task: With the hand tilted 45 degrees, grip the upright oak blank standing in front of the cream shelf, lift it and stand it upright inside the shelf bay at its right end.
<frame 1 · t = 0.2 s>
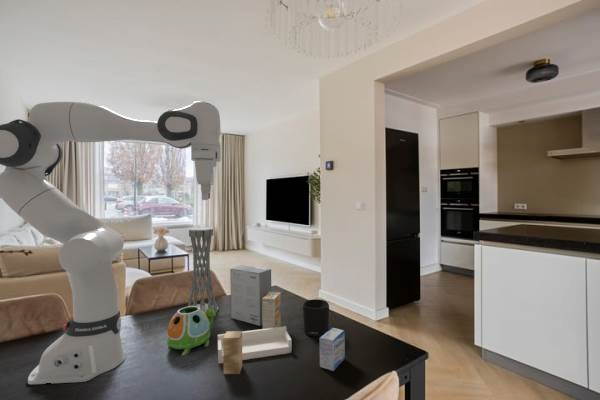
hand: (206, 199, 98), 48 cm above the table, tool pointing down, fingers open, 8 cm apart
vase: (202, 311, 130), on the table
hard drive box: (251, 319, 122), on the table
pen holder: (316, 332, 110), on the table
turtle holder: (192, 344, 102), on the table
cream shelf: (254, 351, 96), on the table
supplement box: (272, 331, 111), on the table
medicine box: (332, 363, 90), on the table
oak blank: (233, 369, 86), on the table
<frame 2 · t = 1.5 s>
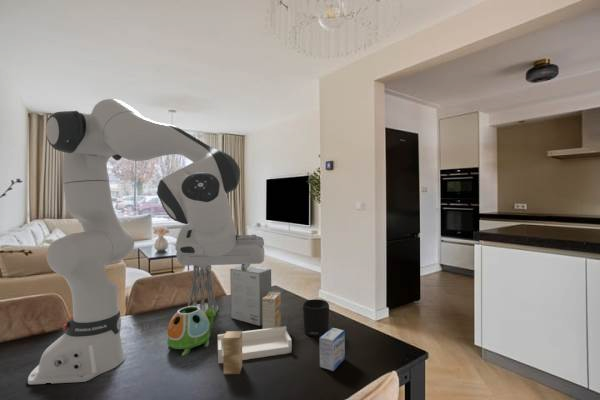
hand: (226, 269, 79), 30 cm above the table, tool tilted 45°, fingers open, 8 cm apart
nothing on the table moved.
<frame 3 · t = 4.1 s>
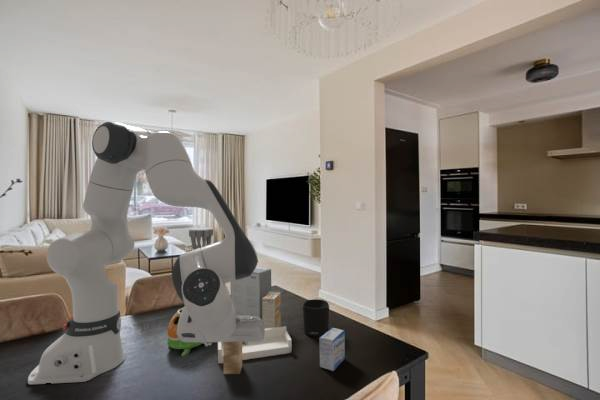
hand: (227, 341, 80), 11 cm above the table, tool tilted 45°, fingers open, 8 cm apart
nothing on the table moved.
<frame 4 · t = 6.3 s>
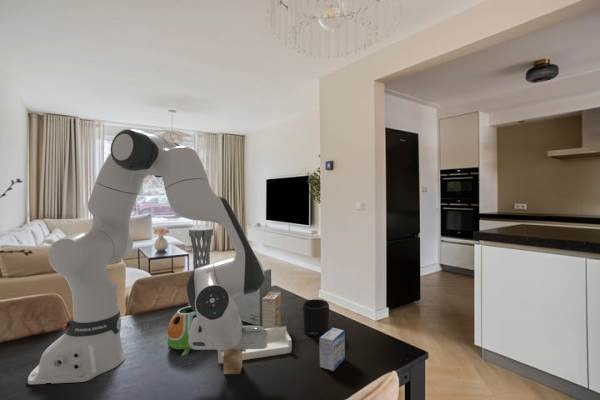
hand: (233, 348, 87), 6 cm above the table, tool tilted 45°, fingers closed on oak blank, 4 cm apart
oak blank: (233, 369, 86), on the table, touching gripper
everything else where it was.
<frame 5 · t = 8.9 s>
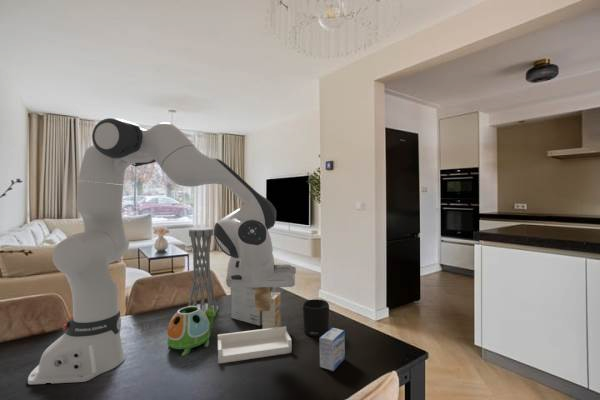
hand: (263, 290, 97), 19 cm above the table, tool tilted 45°, fingers closed on oak blank, 4 cm apart
oak blank: (263, 308, 96), point 14 cm above the table, touching gripper
everything else where it was.
when the fingers open (9 cm above the table, at t = 11.8 s): oak blank drops 1 cm, resting on cream shelf.
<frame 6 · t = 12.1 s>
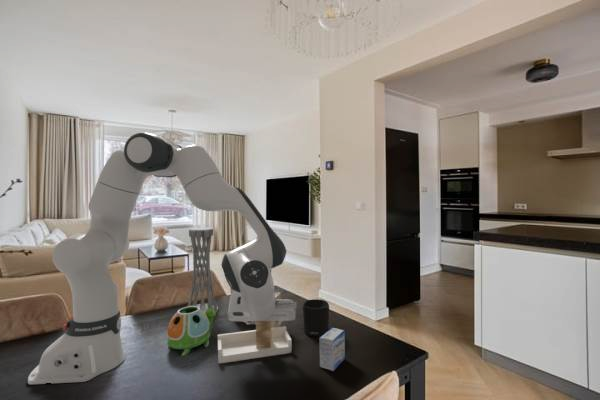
hand: (264, 322, 97), 9 cm above the table, tool tilted 45°, fingers open, 8 cm apart
oak blank: (264, 344, 97), point 2 cm above the table, touching cream shelf
everything else where it was.
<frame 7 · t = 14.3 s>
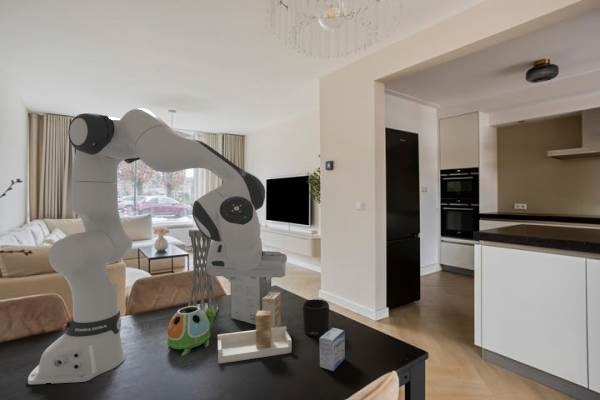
hand: (249, 280, 86), 25 cm above the table, tool tilted 45°, fingers open, 8 cm apart
nothing on the table moved.
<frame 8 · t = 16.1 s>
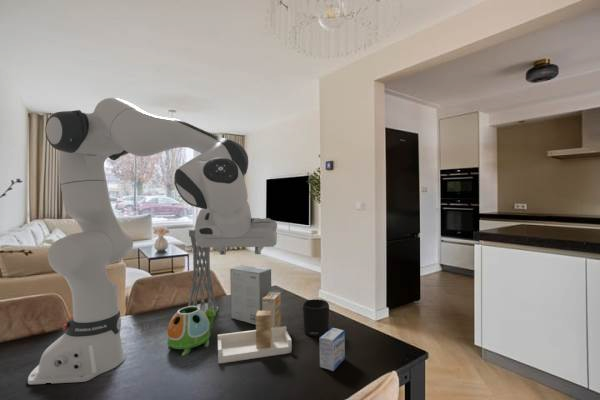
hand: (240, 252, 84), 33 cm above the table, tool tilted 45°, fingers open, 8 cm apart
nothing on the table moved.
at the end: oak blank inside the target area on the cream shelf (3.0 cm from its centre), point 2.0 cm above the cream shelf's base; oak blank tilted 0°; the gripper is holding nothing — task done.
